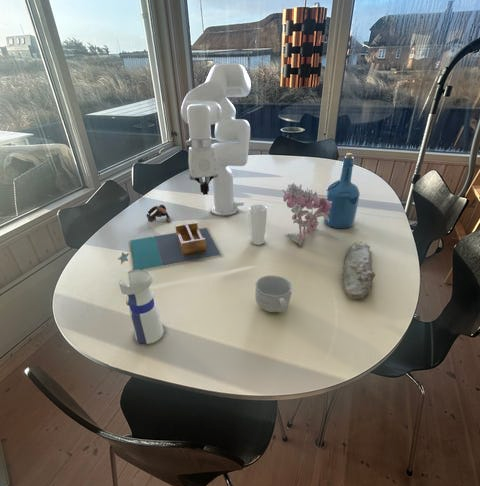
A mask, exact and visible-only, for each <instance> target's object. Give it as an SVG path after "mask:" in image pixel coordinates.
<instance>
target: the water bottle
mask: <svg viewBox="0 0 480 486" xmlns="http://www.w3.org/2000/svg"><path fill="white" fill-rule="evenodd" d="M129 255H130V253H129V252H128V253H124V251H122V252H121V255H120V256H119V257H118V258H117V260H119V261H120V265H123V264H124V263H125V262H129V259H128V257H129ZM127 276H128V283H129V285H127V284H126V283H125V282H124V281H123V280H122V279H118V285H119V290H120V292H121V294H122V295H126V296H125V304H126V305H127V306H128V307H129V317H130V320H131V324H132V328H133V332H134V337H135V340H136V342H138V343H140V344H143V345H149V344H153V343H156V342H157V341H159V340H160V339H161V338H162V337H163V335H164V332H165V331H164V327H163V324H162V320H161V317H160V312H159V309H158V306H157V304H156V302H155V300H154V297H155V293H154V291H153V289H151V285H152V284H153V282H154V278H153V276H152V275H151V274H150V272H149V271H148V270H145V269H143V270H134V269H132V270H129V271H128V272H127Z"/></svg>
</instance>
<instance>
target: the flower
mask: <svg viewBox="0 0 480 486" xmlns="http://www.w3.org/2000/svg"><path fill="white" fill-rule="evenodd" d="M302 186H303V184H299V186H298V185H297V184H295V182H293V183H291V184H287V188H286V190H285V189H282V190H281V192H283V193H284V195H283V198H282V199H283V202H284V203H286V207H287V208H290V209H291V210H290V212H291V213H292V217H291V219H292V224H297V225H298V229H299V231H298V232H299V233H296V232H289V233H287V236H289V237H290V239H291V240H292V241H293V242H296V243H297V244H299V247H301V245H302V243H303V242H304V239H305V238H306V236H307V235H308V233H309V232H312V231H313V230H315V229H316V228H317V227H318V226H319V224H320V222H319V220H318V218H320V217H323V219H324V218H325V219H326V220H328V222H329V218H328V217H327V216H328V215H329V213H330V211H329V209H331V207H332V206H331V204H332V201H328V200H327V198H328V197H327V196H326V197H324V196H320V197H318V196H317V195H318V192H317V191H314V193H313V189H312V188H311V189H309V188H306V190H304V189H303V188H302ZM326 200H327V201H326ZM305 208H306V209H307V210H304V209H305ZM328 208H329V209H328ZM313 209H314V210H315V212H314V213H313V212H312V211H309V210H313ZM302 217H304V219H305V220H303V218H302ZM302 228H303V229H302Z"/></svg>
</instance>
